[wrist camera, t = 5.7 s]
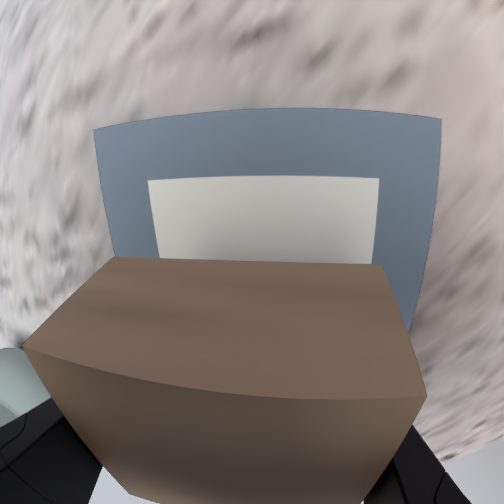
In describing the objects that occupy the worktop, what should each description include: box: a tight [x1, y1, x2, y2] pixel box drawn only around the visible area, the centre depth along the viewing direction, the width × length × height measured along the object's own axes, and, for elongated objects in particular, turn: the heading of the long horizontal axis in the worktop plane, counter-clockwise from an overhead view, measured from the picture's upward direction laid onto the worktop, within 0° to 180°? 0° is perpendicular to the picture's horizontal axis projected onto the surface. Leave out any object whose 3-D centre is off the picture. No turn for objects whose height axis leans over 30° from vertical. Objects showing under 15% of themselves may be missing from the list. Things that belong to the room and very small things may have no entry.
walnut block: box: [22, 256, 427, 504], centre depth 7 cm, size 7×7×4 cm
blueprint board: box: [94, 108, 442, 333], centre depth 14 cm, size 14×14×1 cm
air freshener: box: [0, 348, 51, 427], centre depth 18 cm, size 11×8×10 cm
